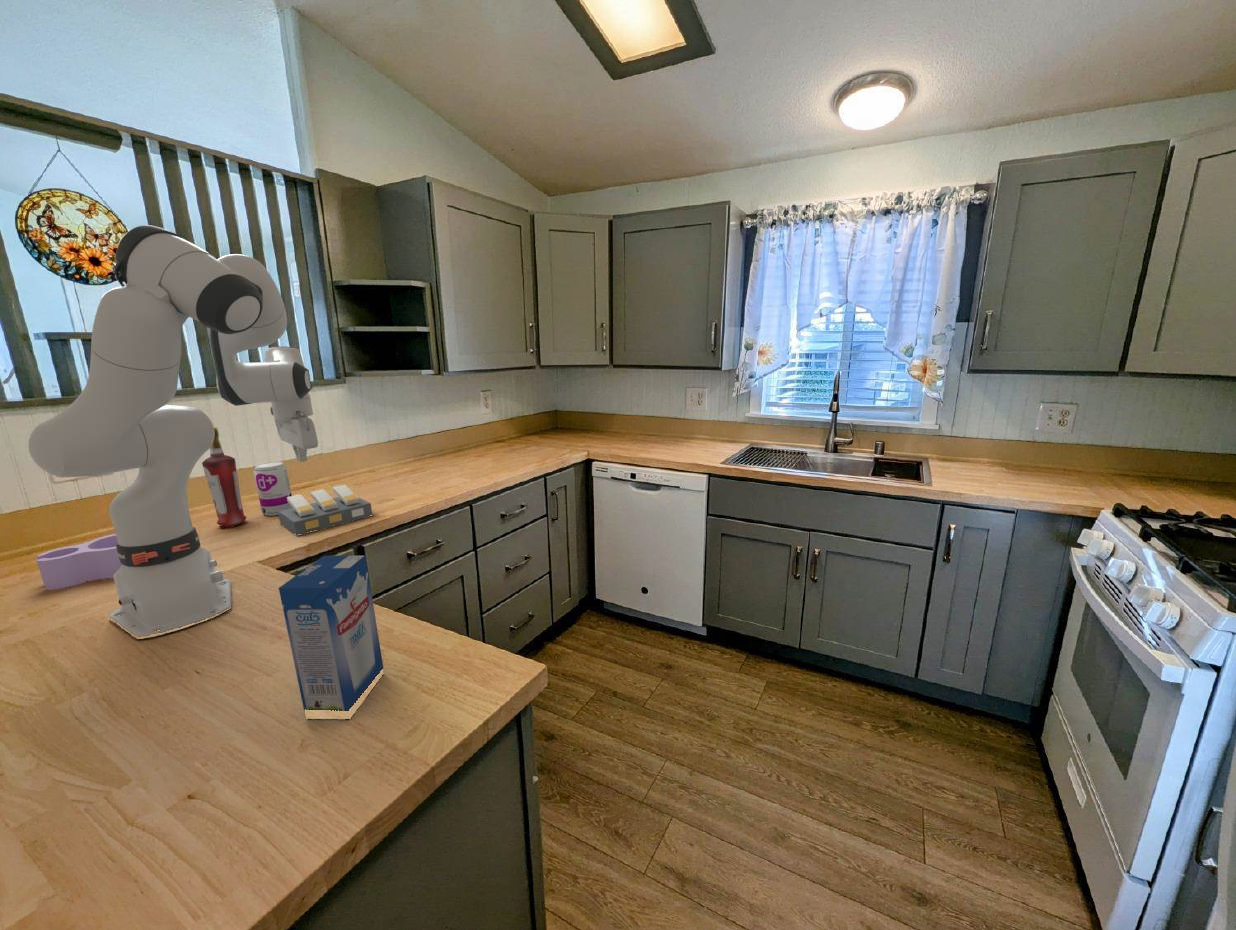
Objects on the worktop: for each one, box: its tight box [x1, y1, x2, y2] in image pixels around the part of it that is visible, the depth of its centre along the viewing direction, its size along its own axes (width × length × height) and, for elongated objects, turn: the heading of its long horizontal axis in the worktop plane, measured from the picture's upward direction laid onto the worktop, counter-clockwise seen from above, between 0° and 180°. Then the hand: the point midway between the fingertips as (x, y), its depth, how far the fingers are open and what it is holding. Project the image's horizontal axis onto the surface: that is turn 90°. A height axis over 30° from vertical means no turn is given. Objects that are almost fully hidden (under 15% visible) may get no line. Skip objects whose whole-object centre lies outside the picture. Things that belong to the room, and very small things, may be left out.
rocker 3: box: [332, 484, 360, 505], centre depth 151 cm, size 10×4×1 cm, turn 49°
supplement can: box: [253, 461, 293, 517], centre depth 154 cm, size 8×8×15 cm
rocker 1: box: [287, 494, 314, 517], centre depth 142 cm, size 10×4×1 cm, turn 48°
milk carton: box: [278, 554, 384, 711], centre depth 72 cm, size 10×6×20 cm, turn 178°
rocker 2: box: [310, 488, 338, 511], centre depth 147 cm, size 10×4×1 cm, turn 48°
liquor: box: [201, 427, 248, 528], centre depth 143 cm, size 7×7×28 cm
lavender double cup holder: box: [35, 533, 122, 591], centre depth 117 cm, size 20×12×7 cm, turn 137°
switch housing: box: [278, 496, 373, 536], centre depth 148 cm, size 14×20×5 cm
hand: (302, 460), depth 138 cm, fingers closed
